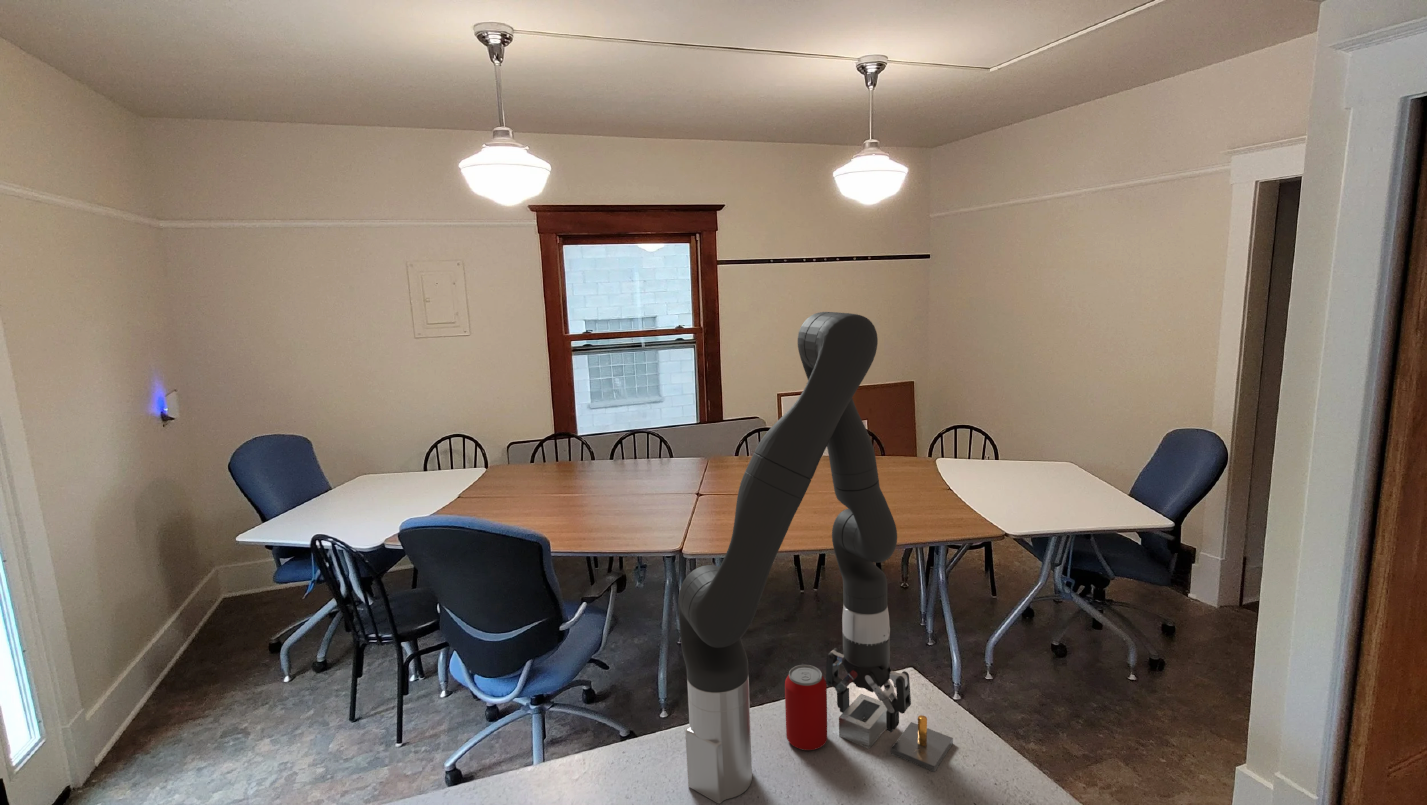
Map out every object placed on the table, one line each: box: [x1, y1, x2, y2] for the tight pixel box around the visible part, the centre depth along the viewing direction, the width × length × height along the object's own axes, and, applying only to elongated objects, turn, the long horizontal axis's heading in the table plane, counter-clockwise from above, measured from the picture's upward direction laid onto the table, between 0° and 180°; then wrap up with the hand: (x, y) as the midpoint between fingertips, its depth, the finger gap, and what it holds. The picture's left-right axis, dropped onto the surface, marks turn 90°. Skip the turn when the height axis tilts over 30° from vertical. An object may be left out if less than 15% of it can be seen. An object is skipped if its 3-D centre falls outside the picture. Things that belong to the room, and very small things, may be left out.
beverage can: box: [784, 664, 828, 751], centre depth 109 cm, size 7×7×12 cm
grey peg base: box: [890, 714, 954, 773], centre depth 107 cm, size 8×7×5 cm
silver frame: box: [838, 693, 887, 750], centre depth 112 cm, size 8×5×4 cm
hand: (867, 719), depth 112 cm, fingers open, 8 cm apart
